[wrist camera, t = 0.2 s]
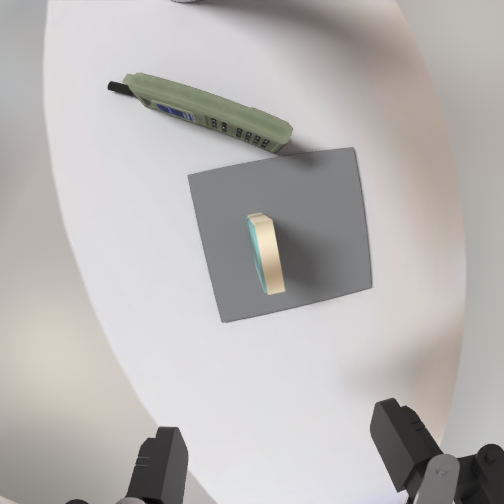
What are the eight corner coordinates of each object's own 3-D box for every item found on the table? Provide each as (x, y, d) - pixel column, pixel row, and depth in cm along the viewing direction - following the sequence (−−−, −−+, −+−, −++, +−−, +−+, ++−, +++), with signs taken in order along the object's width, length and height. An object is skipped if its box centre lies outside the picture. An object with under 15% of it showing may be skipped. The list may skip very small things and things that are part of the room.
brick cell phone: (274, 158, 36) (107, 99, 32) (284, 136, 35) (117, 79, 32) (285, 148, 29) (88, 82, 25) (296, 122, 29) (100, 60, 25)
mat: (188, 175, 35) (187, 175, 34) (351, 147, 36) (353, 147, 35) (221, 320, 39) (221, 322, 39) (369, 286, 40) (371, 287, 40)
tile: (245, 215, 36) (250, 224, 26) (260, 212, 36) (272, 220, 26) (255, 268, 38) (264, 295, 28) (270, 265, 38) (285, 291, 28)
